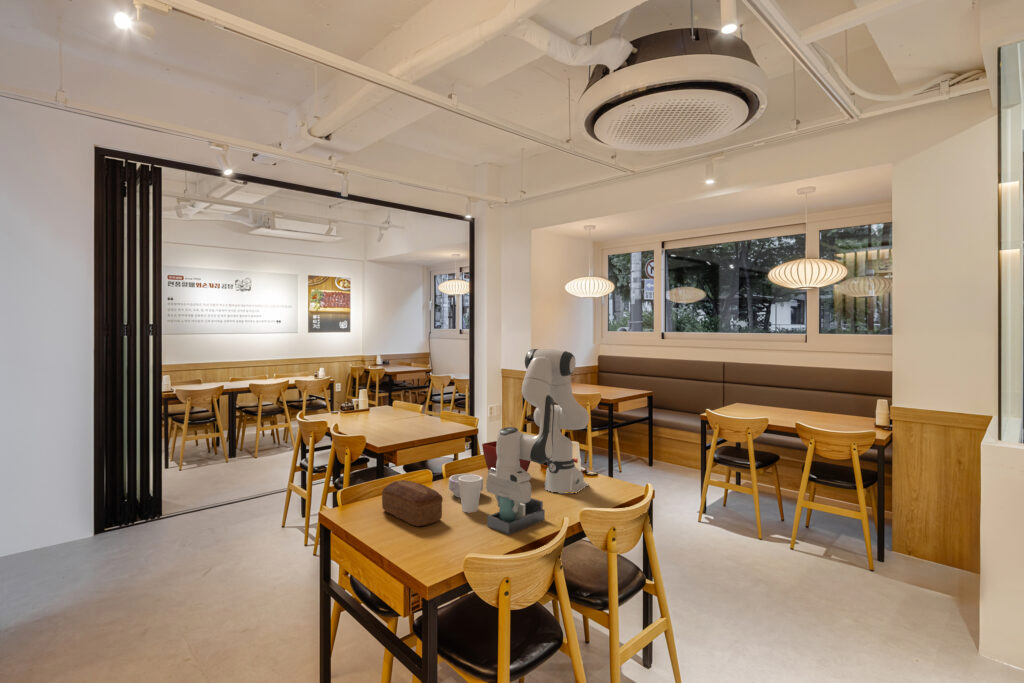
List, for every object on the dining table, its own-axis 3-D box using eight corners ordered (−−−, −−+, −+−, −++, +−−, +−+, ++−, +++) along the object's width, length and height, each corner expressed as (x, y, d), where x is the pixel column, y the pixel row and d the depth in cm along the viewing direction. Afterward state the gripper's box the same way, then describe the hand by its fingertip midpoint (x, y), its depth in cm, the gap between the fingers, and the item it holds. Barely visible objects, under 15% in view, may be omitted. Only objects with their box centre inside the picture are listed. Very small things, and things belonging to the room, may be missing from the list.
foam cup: (485, 508, 200) (486, 477, 200) (472, 515, 192) (473, 482, 192) (467, 504, 205) (467, 473, 205) (453, 511, 197) (453, 479, 197)
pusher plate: (508, 516, 188) (509, 499, 188) (525, 522, 182) (525, 504, 182) (506, 517, 187) (506, 499, 187) (522, 523, 181) (523, 505, 181)
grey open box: (523, 512, 196) (523, 495, 196) (544, 520, 188) (544, 502, 188) (487, 526, 181) (487, 507, 181) (508, 535, 174) (508, 515, 174)
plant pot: (506, 485, 231) (506, 450, 231) (480, 476, 245) (481, 443, 245) (534, 478, 244) (535, 444, 244) (509, 470, 258) (509, 438, 258)
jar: (495, 519, 181) (495, 492, 181) (507, 514, 185) (507, 488, 185) (507, 523, 177) (507, 496, 177) (519, 518, 181) (519, 492, 181)
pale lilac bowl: (485, 490, 223) (485, 473, 223) (479, 501, 208) (480, 483, 208) (452, 489, 225) (452, 472, 225) (444, 500, 210) (445, 481, 210)
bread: (416, 531, 176) (417, 497, 176) (376, 511, 196) (377, 480, 196) (447, 521, 186) (447, 489, 186) (406, 503, 206) (406, 474, 206)
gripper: (482, 468, 186) (482, 504, 186) (522, 479, 172) (522, 518, 172) (494, 465, 190) (493, 500, 190) (534, 476, 176) (533, 514, 176)
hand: (507, 509), depth 181 cm, fingers closed on jar, 6 cm apart
